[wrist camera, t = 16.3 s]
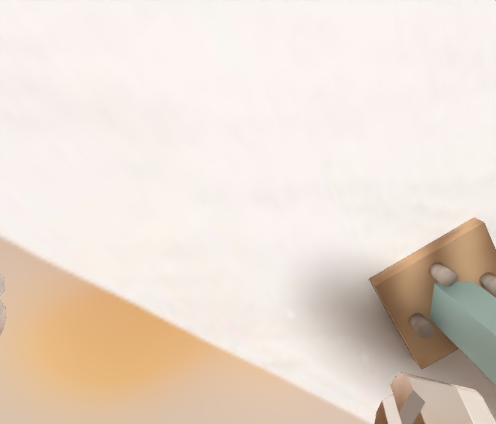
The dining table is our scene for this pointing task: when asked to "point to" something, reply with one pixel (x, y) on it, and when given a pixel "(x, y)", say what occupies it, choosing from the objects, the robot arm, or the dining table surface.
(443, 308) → the block
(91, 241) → the dining table surface
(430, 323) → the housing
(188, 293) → the dining table surface
